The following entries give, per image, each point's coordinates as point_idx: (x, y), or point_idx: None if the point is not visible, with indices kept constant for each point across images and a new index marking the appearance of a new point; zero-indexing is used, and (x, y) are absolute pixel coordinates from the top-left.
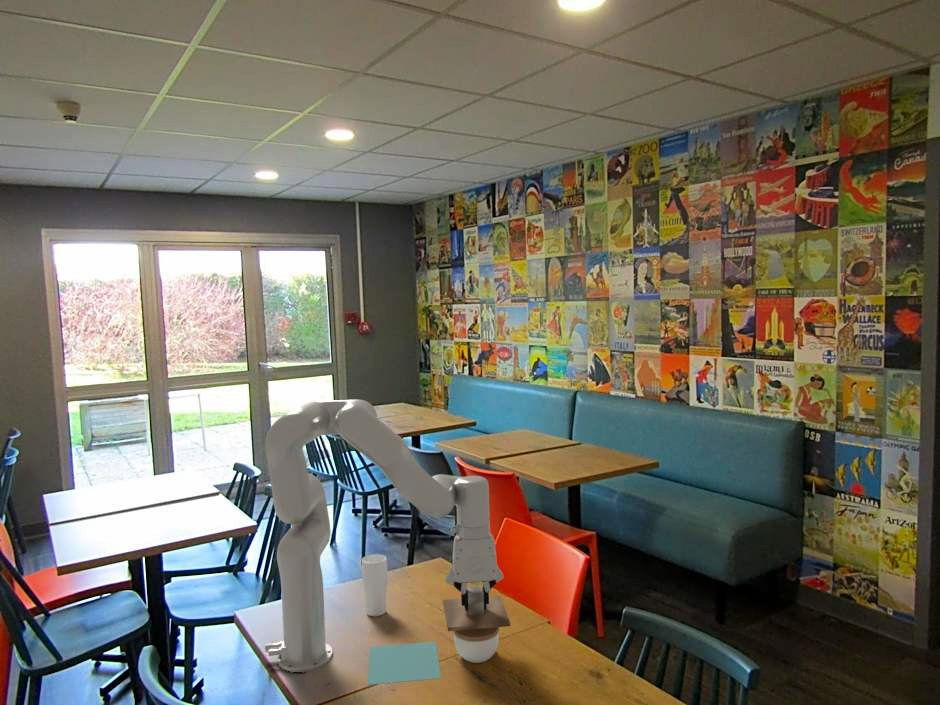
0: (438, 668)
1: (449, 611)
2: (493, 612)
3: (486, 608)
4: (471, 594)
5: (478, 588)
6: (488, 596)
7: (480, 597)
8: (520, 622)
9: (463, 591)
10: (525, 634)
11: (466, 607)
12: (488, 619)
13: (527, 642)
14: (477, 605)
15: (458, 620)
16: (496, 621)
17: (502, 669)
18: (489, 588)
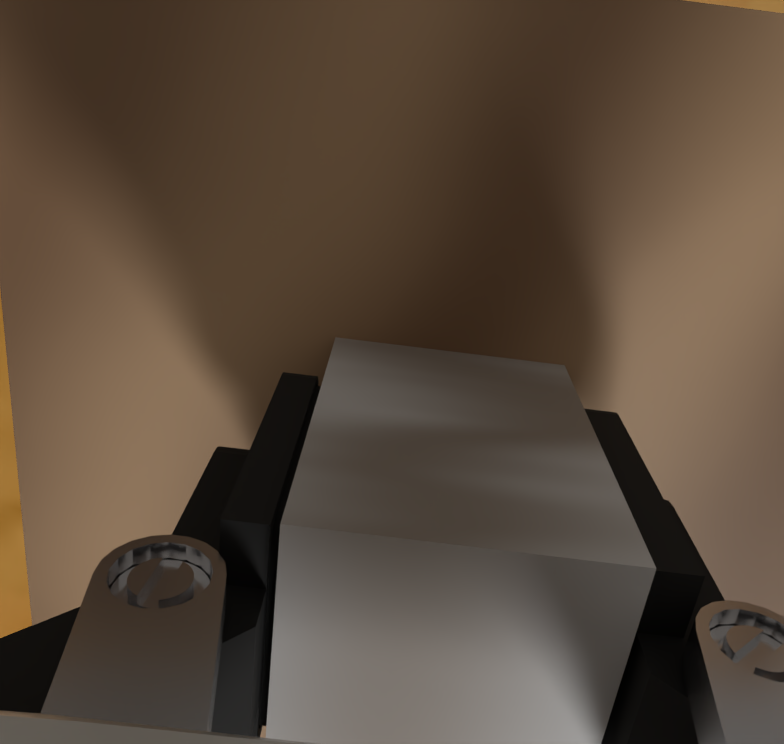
0: None
1: (779, 526)
2: (191, 335)
3: (283, 373)
4: (568, 547)
5: (346, 721)
6: (190, 510)
7: (365, 476)
8: (22, 608)
9: (754, 656)
10: (7, 464)
11: (614, 430)
12: (310, 140)
13: (6, 362)
14: (431, 408)
15: (773, 241)
16: (195, 32)
17: None
18: (100, 595)
